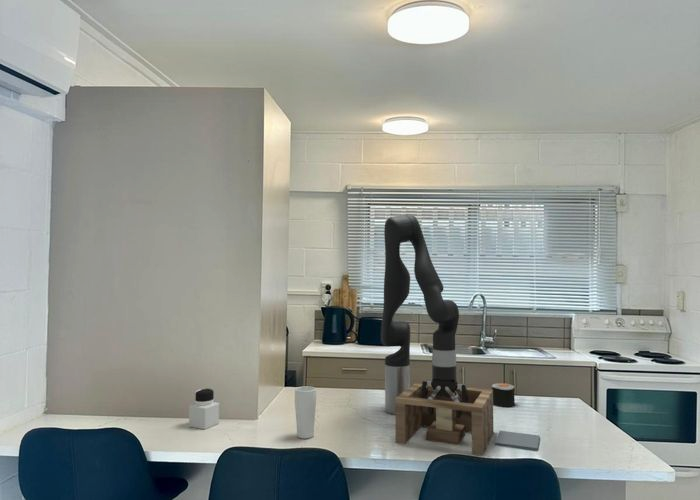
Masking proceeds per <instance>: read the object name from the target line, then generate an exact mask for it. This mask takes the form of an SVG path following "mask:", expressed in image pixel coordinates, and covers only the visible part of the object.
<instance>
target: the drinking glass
mask: <svg viewBox="0 0 700 500" xmlns="http://www.w3.org/2000/svg"><path fill="white" fill-rule="evenodd" d="M316 406H317V389H316V387H314V386H311V385H310V386H306V385H305V386H299V387H296V388H295V390H294V408H295V420H296V436H297V438H300V439H303V440H305V439H307V440H308V439H311V438H312V437H314V435H315V419H316Z"/></svg>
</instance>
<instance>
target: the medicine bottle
mask: <svg viewBox="0 0 700 500" xmlns="http://www.w3.org/2000/svg"><path fill="white" fill-rule="evenodd" d="M194 402H195V403H193V404H190V405H189V406H188V427H189V428H195V429H200V430H208V429H209V428H212V427H214V426H216V425H218V424H220V403H219V402H215V401H214V390H213V389H211V388H200V389H198V390H196V391H195V392H194Z"/></svg>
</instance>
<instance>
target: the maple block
mask: <svg viewBox="0 0 700 500" xmlns="http://www.w3.org/2000/svg"><path fill="white" fill-rule="evenodd" d="M455 426H456V422H455V410H452V409H443V408H436V429H440V430H448V431H453V429H454V428H455Z"/></svg>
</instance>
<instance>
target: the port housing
mask: <svg viewBox="0 0 700 500" xmlns="http://www.w3.org/2000/svg"><path fill="white" fill-rule="evenodd" d="M433 392H434V389H433V388H432V386H431V385H430V387H429V388H428V394H427V396H429V397H430V396H431V394H432V393H433ZM467 392H468V402H467V403H461V402H455V401H454V400H453V399H452V398H451V396H450V397H445V396H438V395H436V396H435V398H434V399H424V398H422V383H421V382H414V384H412V385H410V387H409V388H408V389H407V390H405V391H404V392H403V393H401V394H400V395H399V396H397V397H396V398H395V414H394V415H395V427H394V428H395V443H397V444H401V445H405V444H407V442H409V441H410V439H411V438H412V437H413V436H414V435H415V434H416V433H417V432H418V431H419V430H420V429H421V428H422V427H428V428H427V429H426V430H425V431H426V433H425V435H426V436H425V437H426V438H425V440H426V441H431V442H436V443H442V444H443V443H444V444H452V445H456V446H459V445H460V443H461V442H462V440H463V438H464V437H465V435H466V433H467V432H468V433H471V455H476V456H482V457H483V456H484V454H485V451H486V449H487V447H488V445H489V443H490V441H491V438H492V436H493V434H494V405H493V390H492V389H484V388H475V387H474V388H473V387H467ZM456 393H457V394H458V396H459V398H460V399H461V400H462V391H460V389H459V388H457V389H456ZM428 407H433V409H434V413H433V414H432V415H430V413H428ZM436 408H443V409H452V410H455V422H456V426H455V428H454V429H453V431H448V430H440V429H436ZM456 410H461V411H462V415H461V416H460V417H459V418H457V417H456Z"/></svg>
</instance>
